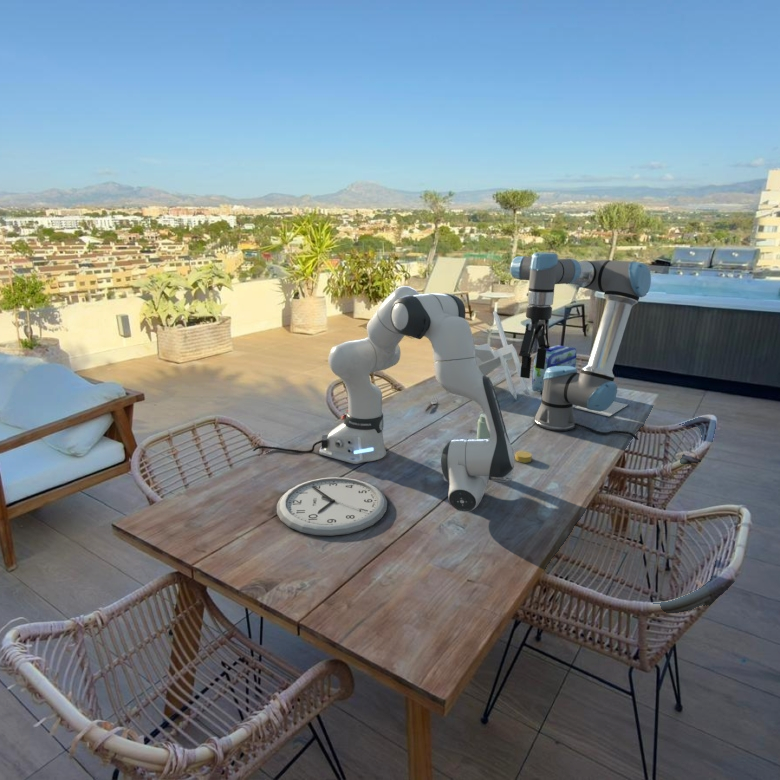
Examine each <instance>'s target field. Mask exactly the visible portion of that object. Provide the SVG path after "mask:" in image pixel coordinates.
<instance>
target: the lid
mask: <svg viewBox="0 0 780 780" xmlns="http://www.w3.org/2000/svg"><path fill="white" fill-rule="evenodd" d="M532 457H533V455H532V453H531V452H528V451H525V450H518V451H516V452H515V453H514V459H515V461H516V462H519V463H523V464H527V463H531V461H532V459H533V458H532Z"/></svg>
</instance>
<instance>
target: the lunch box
mask: <svg viewBox="0 0 780 780" xmlns="http://www.w3.org/2000/svg"><path fill="white" fill-rule="evenodd" d="M536 360H537V353H536V354H535V356H534V358H533V365H532V376H531V377H532V378H531V390H532V391H533V392H537V393H542V391H543V382H544V379H543V378H544V374H545V371H546V369H547V368H550V367H554V366H572V367H575V368H576V364H577V363H576V362H577V348H576V347H571V346H565V345H553V346H550V348H549V349H547V351H546V360H545V369H539V368H536Z"/></svg>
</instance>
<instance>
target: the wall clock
mask: <svg viewBox="0 0 780 780" xmlns="http://www.w3.org/2000/svg"><path fill="white" fill-rule="evenodd" d="M387 509H388V500H387V498H386V496H385V494H384V493H383V492H382V491H381V490H380V489H379V488H377V487H376V486H374V485H372V484H371V483H369V482H365V481H362V480H359V479H355V478H349V477H338V476H337V477H335V476H333V477H332V476H331V477H322V478H317V479H312V480H307V481H305V482H302V483H299V484H297V485H295V486H293V487H292V488H290V489H288V490H287V491H286V492H285V493H284V494H283V495H281V496H280V498H279V499H278V502H277V503H276V515H277V517H278V518H279V520H280V521H281V522H282V523H283V524H285V525H286V526H287V527H288V528H290V529H293V530H295V531H297V532H299V533H303V534H308V535H312V536H327V537H328V536H329V537H331V536H332V537H333V536H342V535H350V534H352V533H356V532H361V531H363V530H366V529H368V528H369V527H372V526H373V525H375V524H376V523H378V522H379V521H380V520H381V519H382V518H383V517H384V516H385V514H386V512H387Z"/></svg>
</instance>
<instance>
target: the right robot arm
mask: <svg viewBox="0 0 780 780" xmlns="http://www.w3.org/2000/svg"><path fill="white" fill-rule="evenodd" d="M509 272H510V275H511V277H512V278H513V279H515V280H519V281H529V283H528V292H526V296H527V301H526V302H527V306H526V309H525V317H526V318H527V319H530V323H528V322H527V323H526V324H525V331H524V335H523V339H522V343H521V346H520V351H519V353H518V357H521V363H520V365H521V374H520V377H523V378H525V379H530V378H531V369H532V353H533V350H534V347H535V345H536V342H537V344H538V347H537V351H536V354H537V360H536V368H539V369H545V360H546V351H547V349H549V348H550V347H551V346H550V344H551V343H550V327H549V326H550V325H549V323H550V320H551V319H552V315H553V306H552V305H554V297H555V296H554V295H555V287H556V285H568V284H570V285H573V286H575V287H577V288H580V289H581V288H582V289H587V290H589V291H590V290H591V291H594V292H599V293H604V294H603V298H604V299H605V301H606V302H605V305H604V308H603V312H602V315H601V318H600V322H599V325H598V328H597V333H596V335H595V338H594V341H593V345H592V348H591V352H590V354H589V359H588V362H587V365H586V366H584V367H582V368H581V369H580V373H578V368H577V367H576V366H575V367H572V366H554V367H550V368H547V369H546V371H545V374H544V378H543V379H544V382H543V391H542V394H541V402H540V405H539V407H538V410H537V411H536V413H535V417H534V424H535V425H536V426H537V427H539V428H542V429H544V430H549V431H556V432H567V431H572V430H574V429H575V428H576V426H577V427H579V428H582V429H584V430H588V431H591V432H593V433H595V434H598V435H602V436H603V435H611V434H625V435H629V436H631V437H633V438H634V439H635V440H639V438H638V436H637V435H636V434H634V433H633V432H631V431H626V430H609V431H599V430H596V429H595V428H591V427H589V426H586V425H584V424H580V423H577V422H576V418H575V417H576V416H575V413H574V407H573V405H574V406H580V407H584V408H587V409H589V410H594V411H599V412H600V411H604V410H606V409H607V408H608V407H610V405H611V404H612V403H613V401H614V402H615V399H616V397H617V394H618V385H617V383H616V382H615V381H614V380H615V375H614V373H613V369H614V366H615V362H616V359H617V356H618V352H619V349H620V346H621V343H622V339H623V336H624V333H625V330H626V327H627V323H628V320H629V317H630V314H631V310H632V308H633V306H635V305H637V304H638V303H639V301H640V298H644V297H646V296H647V294H648V293H649V291H650V289H651V284H652V274H651V270H650V268H649V266H648V264H646V263H644V262H640V261H634V260H632V261H630V260H629V261H627V260H610V259H599V260H579V261H578V260H576V259H574V258H559V256H558V254H557V253H555V252H534V253H533V254H532V255H531V256H526V255H523V256H516V257H514V258H513V260H512V261H511V263H510V268H509Z"/></svg>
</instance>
